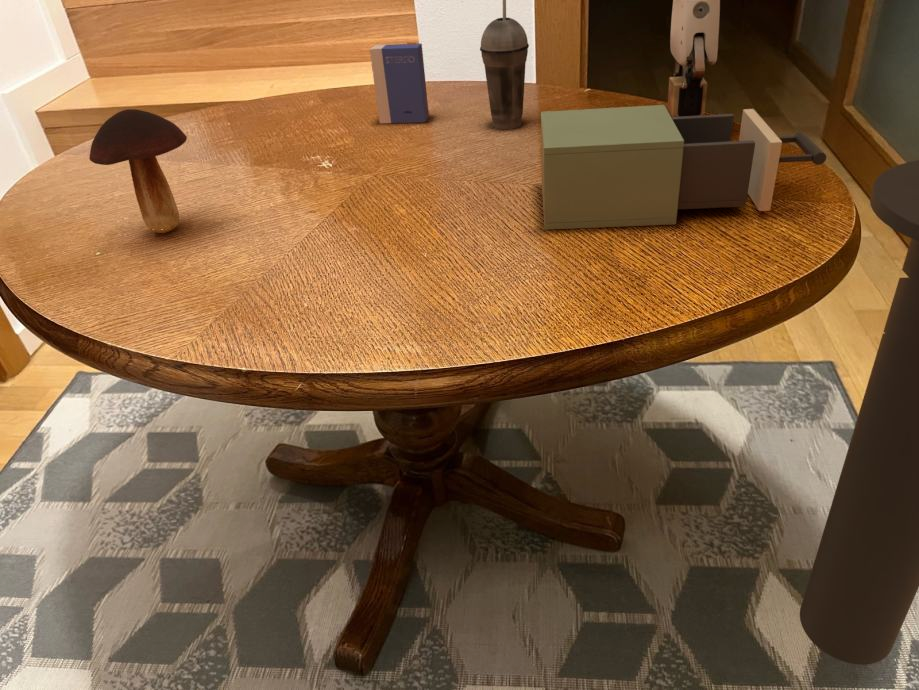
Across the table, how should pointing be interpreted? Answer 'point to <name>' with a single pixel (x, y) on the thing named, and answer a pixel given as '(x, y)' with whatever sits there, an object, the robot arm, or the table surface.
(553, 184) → the cabinet
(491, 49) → the beverage cup
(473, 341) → the table surface
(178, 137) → the decorative mushroom
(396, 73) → the walkman
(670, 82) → the block
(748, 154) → the drawer
